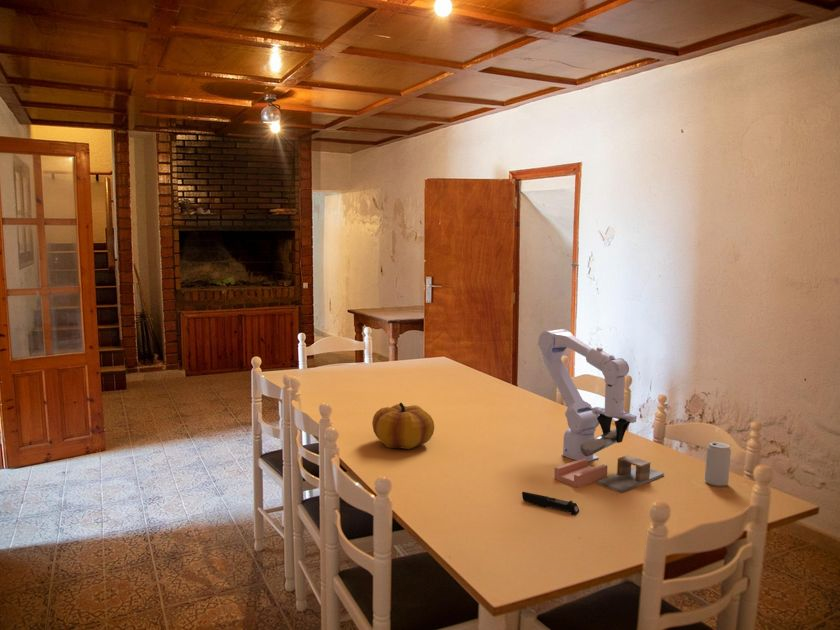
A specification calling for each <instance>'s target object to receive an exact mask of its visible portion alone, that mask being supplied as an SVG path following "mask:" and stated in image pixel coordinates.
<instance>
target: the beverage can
mask: <svg viewBox="0 0 840 630" xmlns="http://www.w3.org/2000/svg"><path fill="white" fill-rule="evenodd" d="M730 446H731V445H729V444H728V443H726V442H720V441H710V442H708V445H707V447H706V458H705V459H706V460H705V471H704V481H705V482H706V483H707V485H711V486H713V487H721V488H722V487H725V486H726V485H728V484H729V481H730V480H729V477H730V467H731V454H732V450H731V447H730Z"/></svg>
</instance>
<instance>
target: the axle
mask: <svg viewBox="0 0 840 630" xmlns="http://www.w3.org/2000/svg"><path fill="white" fill-rule="evenodd" d="M614 444H617V441H616V428H614V429H610V431H609V432H607V433H604V434H603V433H602V434H600V435H598V436H596V437H594V439H592V440H589V441H587V442H585V443H583V444H582V445H581V447H580V450H581V452H582V454H583V455H585V456H590V455H592V454H593V455H595V454H596V453H598V452H600V451H602V450H604V449H606V448H608V447H610V446H612V445H614Z"/></svg>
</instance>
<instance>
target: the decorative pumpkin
mask: <svg viewBox="0 0 840 630" xmlns="http://www.w3.org/2000/svg"><path fill="white" fill-rule="evenodd" d="M372 417H373V418H372V420H371V421H372V422H371V423H372V429H373V432H374V435H375V436H376V438H377V439H378V440H379V441H380V442H381V443H382V444H383V445H385V447H387V448H388V449H389V448H390V449H398V448H400V449H403V450H410V449H412V448H415V447H418V446H422V445H424V444H427V442H429V441H430V440H431V438H432V437H433V435H434V432H435V431H434V430H435V422H434V419H433V417H432V416H431V415H430V414H429V413H428V412H427V411H426V410H424V409H423V408H422V407H421V406H419V405H416V404H413V405H409V406H405V405H404V404H403V402H399V403H397V404H394V405H392V406H391V407H389V406H386V407H382V408H380V409H378V410H377V411H376V412H375V414H374V415H373V416H372Z"/></svg>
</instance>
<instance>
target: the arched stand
mask: <svg viewBox="0 0 840 630" xmlns="http://www.w3.org/2000/svg"><path fill="white" fill-rule="evenodd" d="M632 466H634V467H632ZM616 467H617V469H616V473H615V474H613V475H610V476H607V477H605V478H603V479H600V480H597V481H596V484H597V485H599V486H602V487H605V488H608V489H610V490H613V491H615V492H618V493H620V494H621V493H625V492H627V491H629V490H632V489H634V488H638V487H639V486H642V485H645V484H647V483H650V482H652V481H654V480H657V479H659V478H662V477H664V476H665V473H664V472H661V471H658V470H655V469H652V468H651V461H648V460H644V459H641V458H638V457H635V456H631V455H628V454H627V455H624V456H623V455H622V457H618V458H617V466H616Z"/></svg>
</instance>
